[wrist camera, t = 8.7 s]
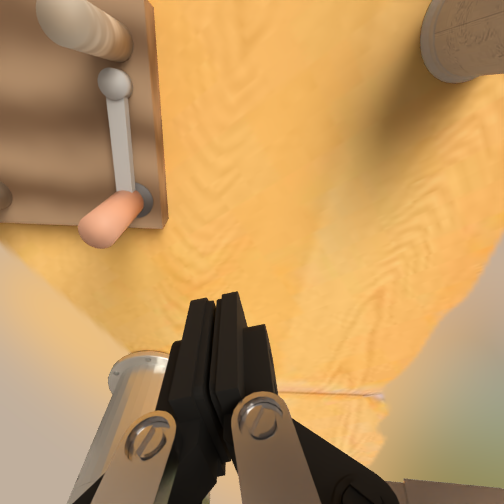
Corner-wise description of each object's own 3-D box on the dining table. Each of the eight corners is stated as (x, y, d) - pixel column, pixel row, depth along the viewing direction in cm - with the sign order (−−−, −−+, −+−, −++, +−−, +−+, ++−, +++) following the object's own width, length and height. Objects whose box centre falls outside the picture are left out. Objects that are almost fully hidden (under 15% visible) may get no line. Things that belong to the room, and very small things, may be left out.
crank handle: (145, 215, 30) (118, 249, 23) (117, 212, 30) (81, 247, 23) (135, 71, 24) (95, 61, 18) (100, 67, 24) (45, 55, 17)
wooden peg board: (168, 218, 34) (140, 267, 24) (1, 211, 33) (-100, 260, 23) (153, 7, 25) (100, -51, 15) (-75, -14, 24) (-291, -90, 14)
